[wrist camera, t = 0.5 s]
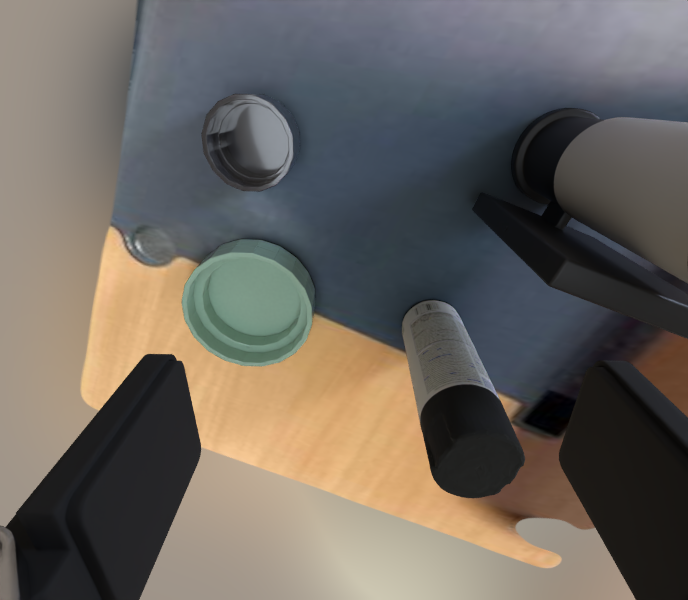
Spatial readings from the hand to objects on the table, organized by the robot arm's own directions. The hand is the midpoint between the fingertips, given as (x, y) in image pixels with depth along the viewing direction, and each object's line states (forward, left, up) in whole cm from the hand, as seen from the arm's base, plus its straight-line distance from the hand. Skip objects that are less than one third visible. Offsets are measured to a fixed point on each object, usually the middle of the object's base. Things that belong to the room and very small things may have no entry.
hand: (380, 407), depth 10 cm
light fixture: (-1, +18, -32) cm, 37 cm away
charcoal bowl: (-3, -9, -32) cm, 34 cm away
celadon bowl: (+13, -11, -32) cm, 36 cm away
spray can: (+16, +9, -32) cm, 37 cm away
